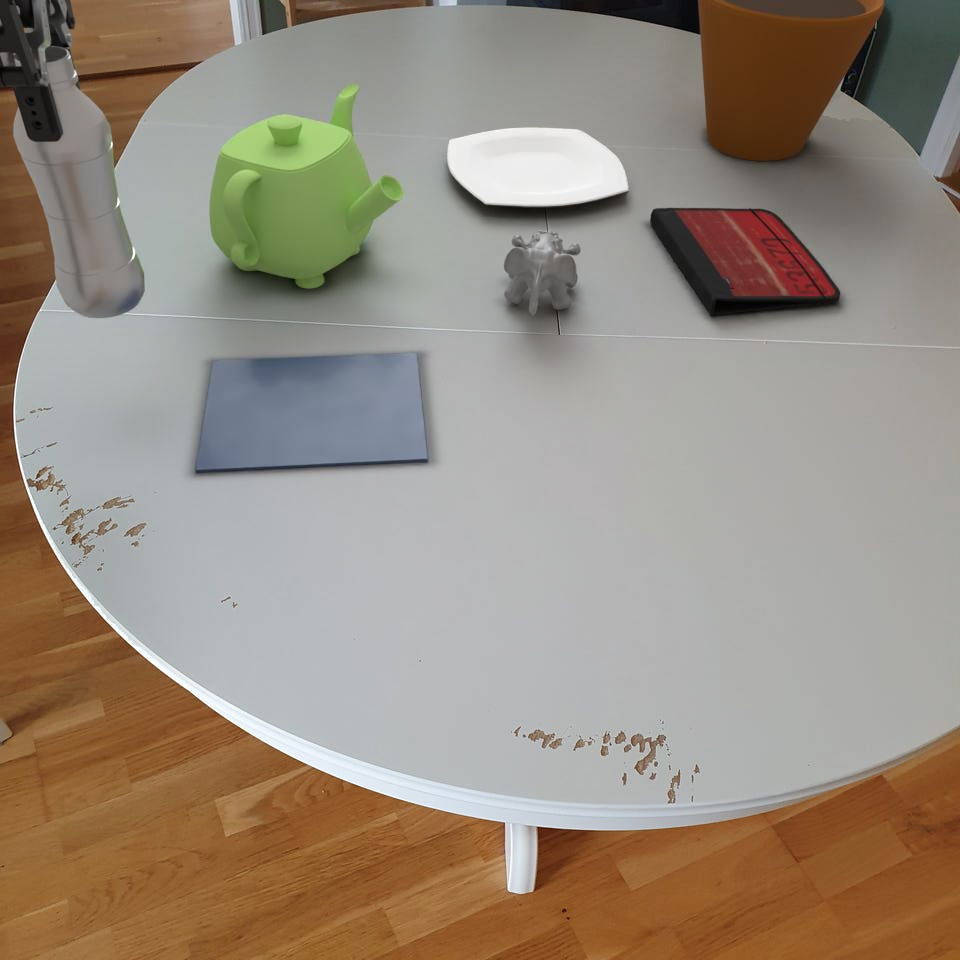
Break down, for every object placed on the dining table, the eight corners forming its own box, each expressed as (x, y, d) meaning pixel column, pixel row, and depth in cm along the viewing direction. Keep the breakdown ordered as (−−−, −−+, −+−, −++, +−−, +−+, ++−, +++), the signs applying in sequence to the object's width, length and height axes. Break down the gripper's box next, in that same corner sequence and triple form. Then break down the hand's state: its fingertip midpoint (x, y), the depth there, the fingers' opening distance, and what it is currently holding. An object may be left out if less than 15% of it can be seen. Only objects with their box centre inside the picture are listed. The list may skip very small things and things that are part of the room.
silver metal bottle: (71, 288, 79) (-4, 39, 66) (154, 283, 80) (97, 37, 67) (60, 331, 75) (-23, 73, 61) (148, 325, 76) (86, 70, 62)
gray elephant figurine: (570, 275, 106) (577, 213, 101) (597, 335, 98) (606, 270, 93) (490, 280, 105) (493, 217, 100) (510, 341, 97) (514, 276, 91)
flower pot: (799, 192, 124) (844, 32, 110) (642, 142, 134) (665, -10, 120) (864, 136, 138) (911, -12, 124) (717, 95, 148) (746, -47, 134)
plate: (587, 135, 135) (588, 121, 134) (648, 210, 119) (651, 195, 117) (430, 147, 130) (430, 133, 129) (472, 227, 114) (473, 212, 112)
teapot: (353, 336, 96) (343, 191, 86) (182, 283, 103) (152, 142, 92) (459, 230, 113) (462, 98, 102) (306, 191, 119) (294, 62, 108)
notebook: (714, 298, 100) (651, 206, 114) (709, 316, 101) (647, 223, 116) (850, 293, 103) (772, 204, 118) (843, 311, 104) (766, 221, 119)
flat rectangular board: (195, 472, 81) (195, 470, 80) (213, 362, 92) (212, 360, 92) (427, 461, 83) (427, 458, 83) (416, 355, 94) (416, 352, 94)
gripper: (-51, -184, 60) (26, 83, 72) (-133, -139, 50) (-27, 165, 61) (71, -182, 61) (128, 82, 72) (15, -136, 51) (92, 164, 62)
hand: (56, 119), depth 67 cm, fingers closed on silver metal bottle, 6 cm apart
